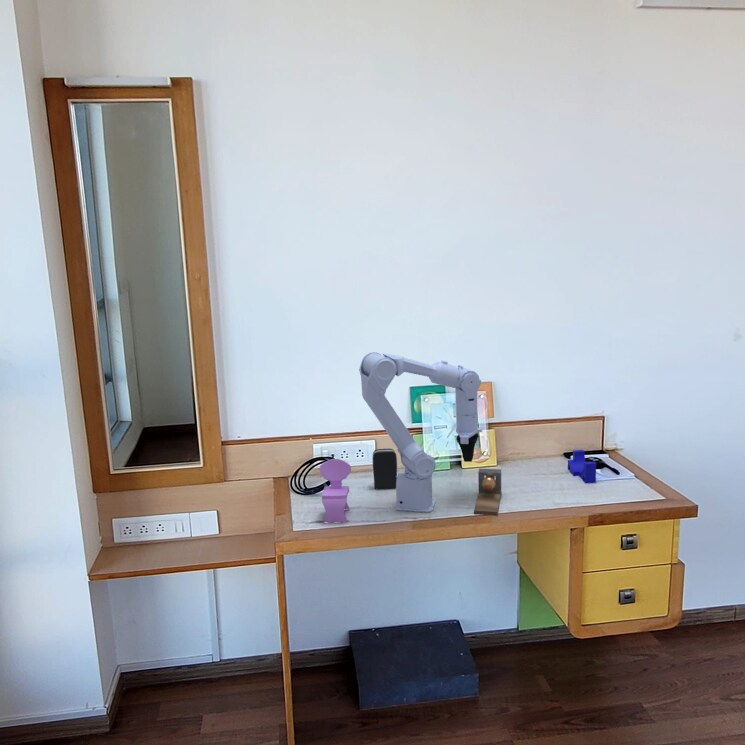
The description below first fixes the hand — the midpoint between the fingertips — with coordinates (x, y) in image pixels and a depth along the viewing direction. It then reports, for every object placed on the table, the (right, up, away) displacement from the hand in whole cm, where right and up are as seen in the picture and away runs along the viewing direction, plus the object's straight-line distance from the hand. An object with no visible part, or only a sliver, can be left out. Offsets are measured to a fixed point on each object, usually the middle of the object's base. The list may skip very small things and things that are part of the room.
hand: (468, 460), depth 191 cm
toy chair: (-35, -14, -7) cm, 39 cm away
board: (+5, -11, -3) cm, 12 cm away
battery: (-22, -9, +12) cm, 27 cm away
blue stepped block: (+35, -7, +14) cm, 38 cm away
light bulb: (+6, -7, +3) cm, 10 cm away
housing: (+6, -9, +3) cm, 11 cm away
